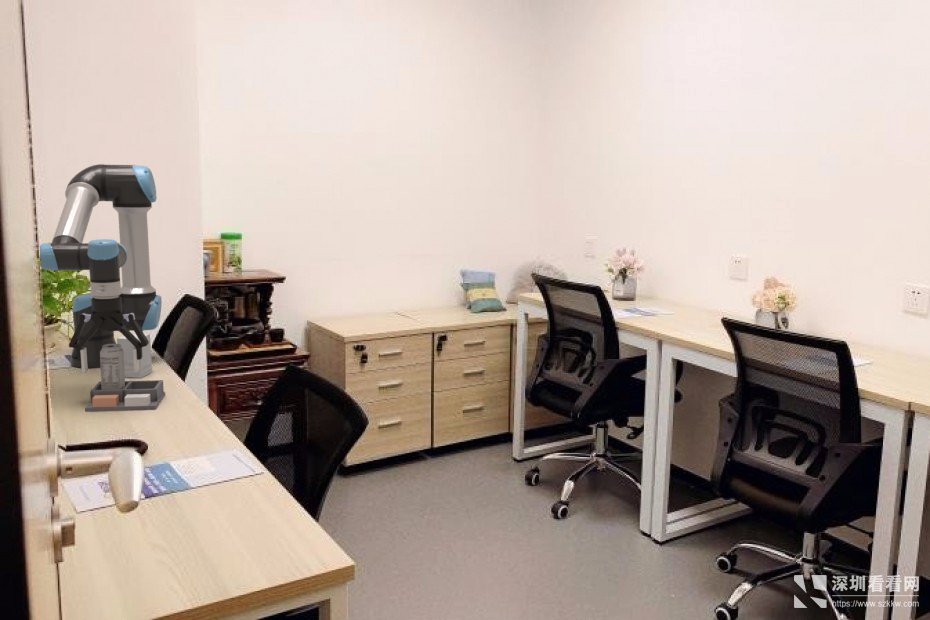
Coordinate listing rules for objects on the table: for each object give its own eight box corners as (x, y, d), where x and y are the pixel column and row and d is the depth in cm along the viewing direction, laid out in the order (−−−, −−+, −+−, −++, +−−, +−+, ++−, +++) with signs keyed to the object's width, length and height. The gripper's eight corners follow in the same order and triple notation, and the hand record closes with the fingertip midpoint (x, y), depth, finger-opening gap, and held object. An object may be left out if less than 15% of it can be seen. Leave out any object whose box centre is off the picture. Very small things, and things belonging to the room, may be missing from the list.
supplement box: (153, 372, 245) (151, 333, 243) (141, 378, 238) (139, 339, 235) (131, 370, 246) (128, 332, 243) (118, 377, 239) (116, 337, 236)
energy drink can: (129, 395, 218) (127, 344, 215) (117, 401, 212) (115, 349, 209) (109, 393, 219) (107, 342, 216) (97, 399, 213) (95, 347, 210)
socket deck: (98, 396, 219) (97, 381, 218) (165, 395, 222) (164, 380, 222) (85, 411, 207) (84, 395, 206) (155, 409, 210) (154, 393, 209)
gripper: (52, 299, 204) (58, 375, 208) (151, 298, 209) (155, 373, 213) (61, 294, 211) (67, 368, 215) (157, 293, 216) (160, 366, 220)
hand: (111, 371), depth 214 cm, fingers open, 13 cm apart
